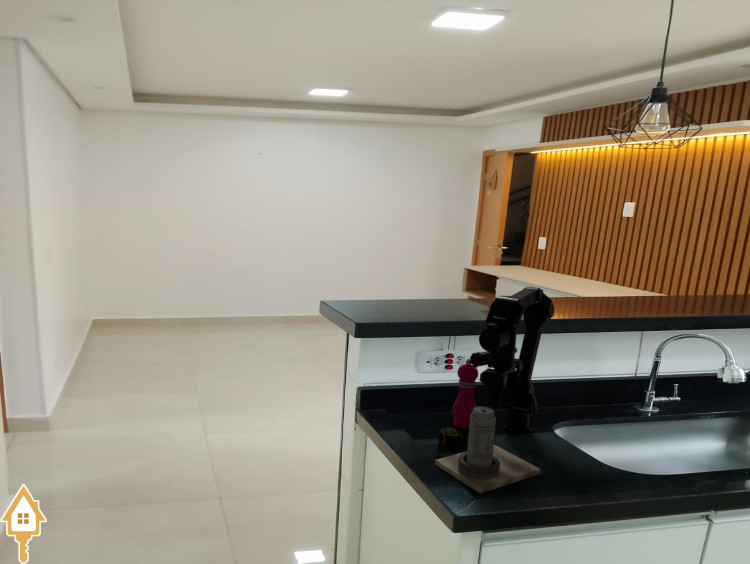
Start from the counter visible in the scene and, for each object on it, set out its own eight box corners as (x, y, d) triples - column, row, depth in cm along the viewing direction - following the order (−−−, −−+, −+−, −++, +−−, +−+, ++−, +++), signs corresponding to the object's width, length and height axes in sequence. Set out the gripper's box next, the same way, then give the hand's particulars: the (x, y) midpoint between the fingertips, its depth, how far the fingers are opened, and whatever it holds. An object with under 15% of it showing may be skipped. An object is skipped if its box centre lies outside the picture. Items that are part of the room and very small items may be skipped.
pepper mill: (480, 428, 165) (485, 362, 162) (457, 430, 163) (462, 363, 160) (469, 419, 172) (474, 355, 169) (447, 420, 170) (452, 356, 167)
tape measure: (467, 449, 151) (468, 435, 151) (444, 451, 149) (445, 437, 148) (456, 438, 158) (457, 425, 157) (433, 440, 155) (434, 427, 155)
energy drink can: (488, 464, 140) (493, 406, 138) (493, 475, 134) (498, 415, 132) (464, 463, 140) (468, 404, 138) (468, 474, 134) (473, 414, 132)
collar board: (493, 448, 152) (494, 435, 151) (540, 473, 139) (541, 459, 138) (435, 464, 141) (436, 450, 140) (480, 493, 128) (481, 478, 127)
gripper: (486, 333, 160) (482, 386, 162) (462, 346, 144) (458, 405, 146) (525, 339, 155) (520, 394, 157) (505, 353, 139) (500, 414, 141)
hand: (499, 401), depth 150 cm, fingers open, 9 cm apart
